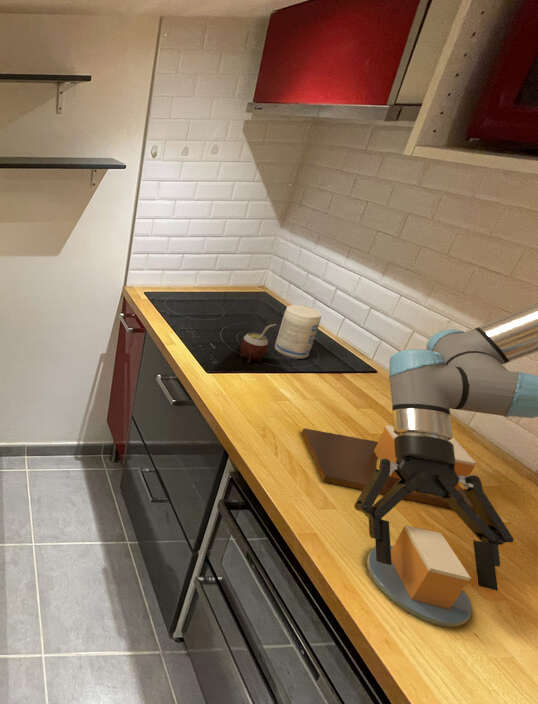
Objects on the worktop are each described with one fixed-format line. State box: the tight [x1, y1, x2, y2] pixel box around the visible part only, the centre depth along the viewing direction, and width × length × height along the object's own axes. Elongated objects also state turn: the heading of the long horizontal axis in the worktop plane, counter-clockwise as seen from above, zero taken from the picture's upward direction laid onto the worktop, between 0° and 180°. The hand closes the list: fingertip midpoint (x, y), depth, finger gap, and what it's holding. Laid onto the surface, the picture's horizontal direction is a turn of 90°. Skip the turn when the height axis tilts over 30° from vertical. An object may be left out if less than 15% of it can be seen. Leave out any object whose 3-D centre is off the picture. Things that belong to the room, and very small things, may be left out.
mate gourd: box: [239, 323, 278, 364], centre depth 135 cm, size 8×8×15 cm
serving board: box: [301, 427, 477, 513], centre depth 97 cm, size 26×16×2 cm, turn 73°
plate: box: [366, 545, 473, 628], centre depth 73 cm, size 13×13×1 cm
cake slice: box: [391, 524, 472, 609], centre depth 72 cm, size 5×8×8 cm, turn 163°
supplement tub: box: [274, 304, 322, 360], centre depth 140 cm, size 10×10×15 cm
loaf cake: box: [374, 424, 477, 491], centre depth 94 cm, size 12×8×8 cm, turn 73°
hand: (434, 575), depth 70 cm, fingers open, 13 cm apart
